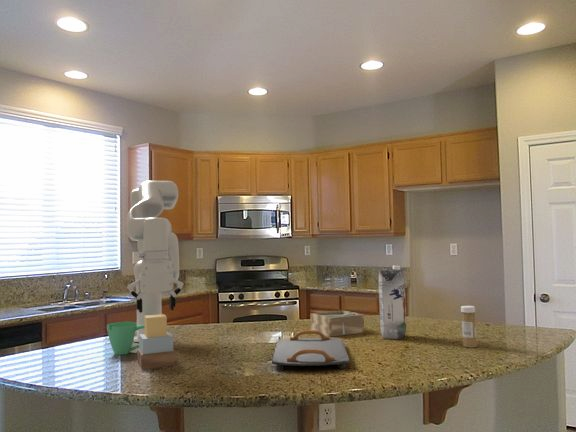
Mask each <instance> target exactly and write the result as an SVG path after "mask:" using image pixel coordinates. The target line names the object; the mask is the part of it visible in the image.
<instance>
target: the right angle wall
mask: <svg viewBox="0 0 576 432" xmlns="http://www.w3.org/2000/svg"><path fill="white" fill-rule="evenodd" d="M354 313H357V312H353V313H349V314H343V315H321V316H325V317H329V318H333V317H344V316H353V315H354ZM316 317H317V316H316ZM317 331H318V327H317ZM343 334H345V330H344V324H343Z"/></svg>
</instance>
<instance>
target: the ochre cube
mask: <svg viewBox="0 0 576 432" xmlns="http://www.w3.org/2000/svg"><path fill="white" fill-rule="evenodd" d="M167 319H168V317H167V315H166V314H165V313H162V314H159V315H147V316H144V335H145V336H146V337H147V338H151V337H161V336H167V332H168V322H167V321H168V320H167Z"/></svg>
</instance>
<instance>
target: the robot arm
mask: <svg viewBox="0 0 576 432" xmlns="http://www.w3.org/2000/svg"><path fill="white" fill-rule="evenodd" d="M129 199H130V206H131V207H130V209H129V210H128V213H127V214H126V233H127V236H128V238H129V239H130V240H131V241H135V242H136V243H137V251H138V258H140V259H141V260H139V261H137V262H136V263H135V264H134V267H133V273H134V274H133V275H134V280H135V281H133V282H132V283H130V284H128V285H127V286H126V288H127V289H128V291H129V293H130V294H131V295H132V296H133V297H134V298H135V300H136V323H137V325H136V326H139V325H144V316H147V315H159V314H163V313H162V312H163V311H162V308H163V307H162V306H163V305H162V293H168V294H169V310H170V311H171V310H172V311H174V308H175V307H176V297H177V296H178V295H179V293H180V292H181V290H182V289H183V287H184V286H185V285H184V284H185V283H184V282H182V281H180V280H179V278H180V277H179V276H180V254H179V249H180V248H179V247H180V246H179V239H178V236H177V234H176V233H174V232H173V231H172V230H173V228H172V223H171V222H170V220H169V219H168V218H165V217H159V216H160V215H162V213H163V211H164V210H173V209H174V208H175V206H176V204H177V202H178V199H179V189H178V185H177V184H176V183H175V182H174V181H173V180H146V181H143V182H141V183H140V185H139V187H138V188H135V189H133V190H132V191H131V192H130V195H129ZM174 284H177V287H176V288H175V289H174ZM134 288H136V289H135V290H134ZM139 334H144V328H142V329H139V330H136V335H134V340H133V343H134V342H135V343H139Z"/></svg>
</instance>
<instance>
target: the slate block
mask: <svg viewBox="0 0 576 432" xmlns="http://www.w3.org/2000/svg"><path fill="white" fill-rule="evenodd" d="M138 344H139V348H138V349H140V351H141V352H142V353H143V354H151V353H160V352H168V351H173V350H174V336H173V334H171V333H170V332H169V331H167V336H161V337H151V338H147V337H146V336H145V335H144V334H139V342H138Z"/></svg>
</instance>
